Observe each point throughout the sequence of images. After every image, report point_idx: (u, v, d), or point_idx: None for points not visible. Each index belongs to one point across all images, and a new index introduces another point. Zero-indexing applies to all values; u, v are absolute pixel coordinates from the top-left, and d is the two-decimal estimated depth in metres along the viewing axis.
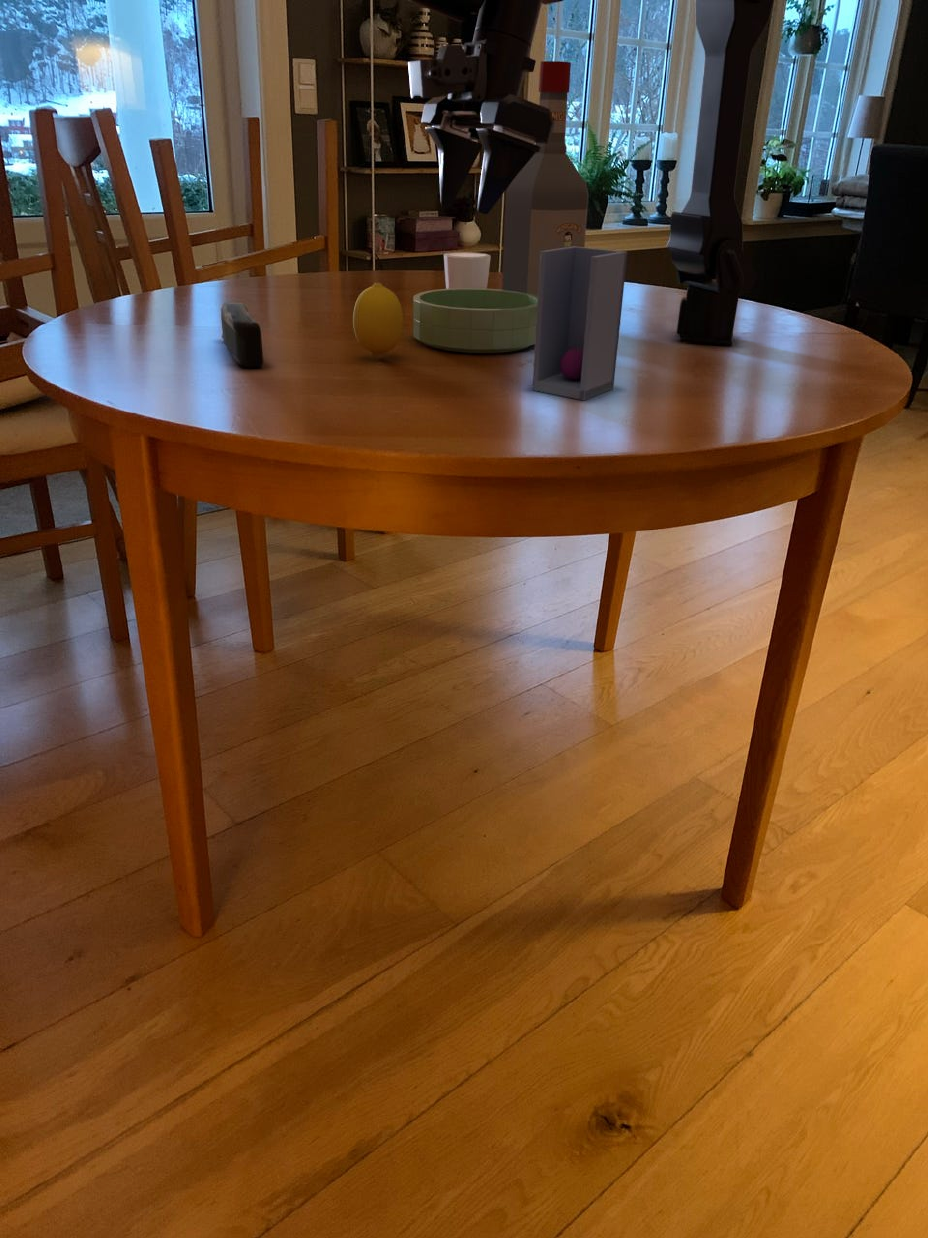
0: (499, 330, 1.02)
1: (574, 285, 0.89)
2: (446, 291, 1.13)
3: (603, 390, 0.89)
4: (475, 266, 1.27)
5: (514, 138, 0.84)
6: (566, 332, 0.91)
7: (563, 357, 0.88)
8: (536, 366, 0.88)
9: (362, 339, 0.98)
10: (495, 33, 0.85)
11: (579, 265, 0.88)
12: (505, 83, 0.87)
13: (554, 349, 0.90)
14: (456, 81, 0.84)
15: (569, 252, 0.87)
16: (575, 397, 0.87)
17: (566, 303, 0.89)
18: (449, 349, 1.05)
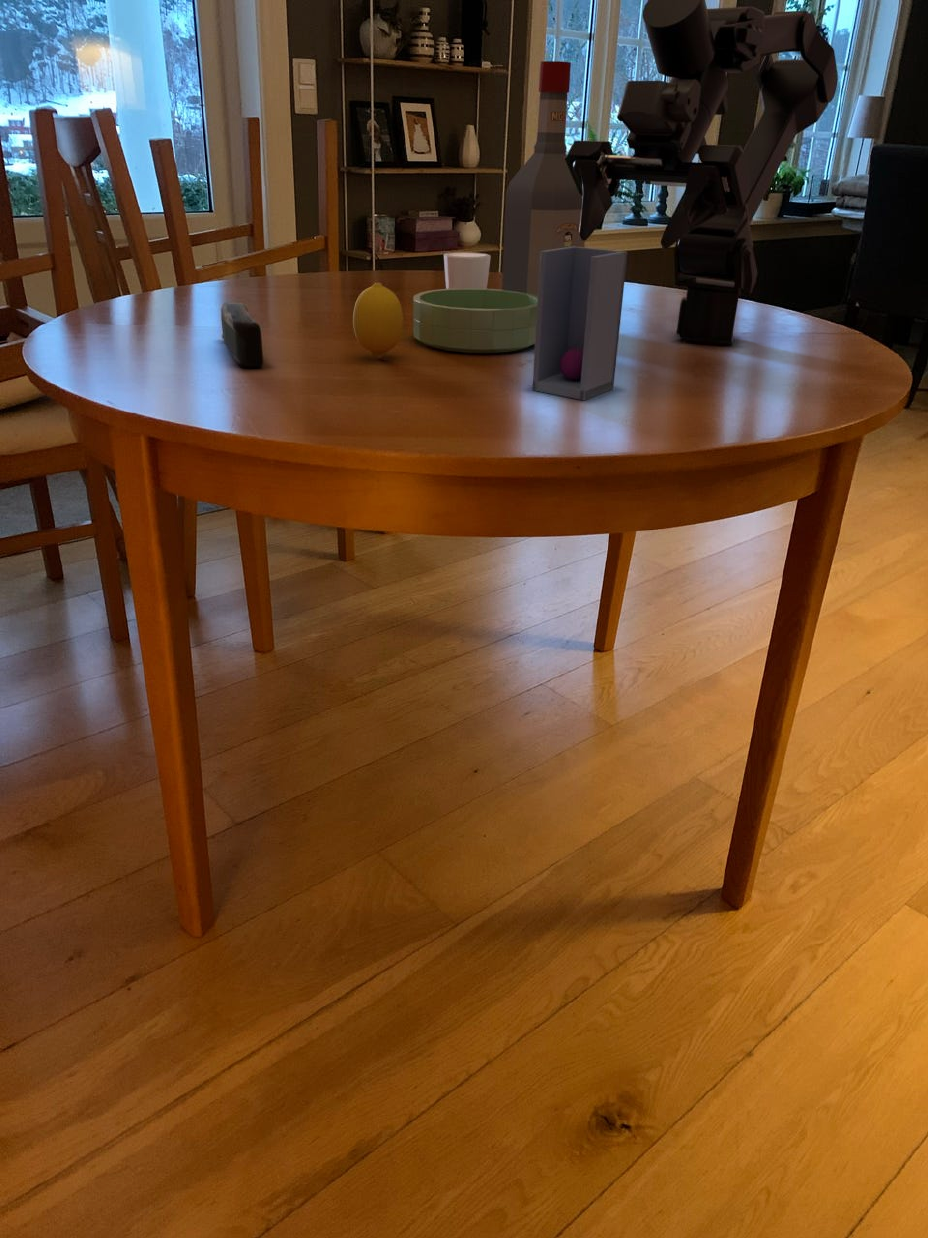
0: (499, 330, 1.02)
1: (574, 285, 0.89)
2: (446, 291, 1.13)
3: (603, 390, 0.89)
4: (475, 266, 1.27)
5: (723, 188, 0.87)
6: (566, 332, 0.91)
7: (563, 357, 0.88)
8: (536, 366, 0.88)
9: (362, 339, 0.98)
10: (698, 102, 0.89)
11: (579, 265, 0.88)
12: (694, 147, 0.90)
13: (554, 349, 0.90)
14: (689, 114, 0.84)
15: (569, 252, 0.87)
16: (575, 397, 0.87)
17: (566, 303, 0.89)
18: (449, 349, 1.05)
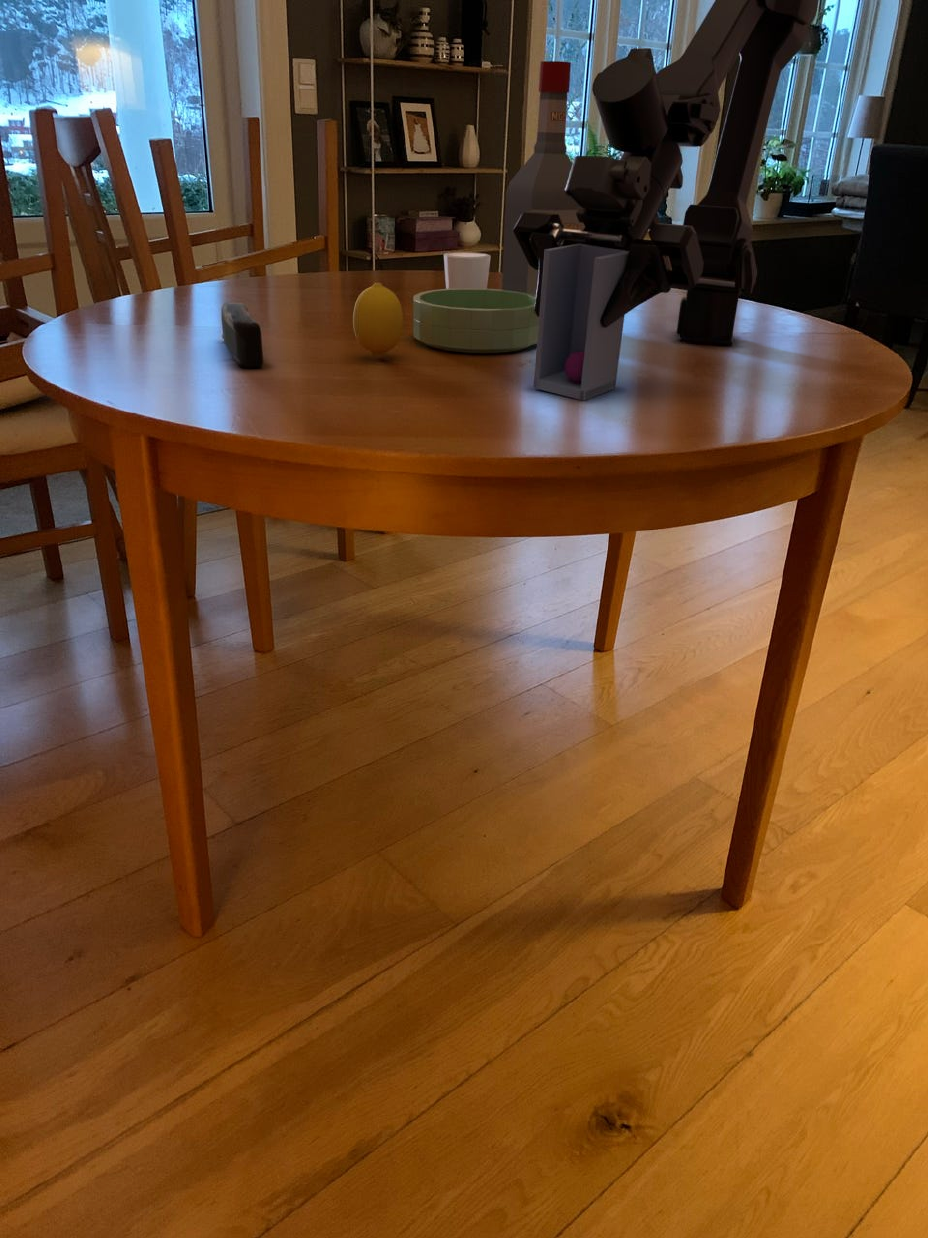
0: (499, 330, 1.02)
1: (579, 283, 0.88)
2: (446, 291, 1.13)
3: (604, 390, 0.89)
4: (475, 266, 1.27)
5: (665, 267, 0.83)
6: (570, 330, 0.90)
7: (568, 364, 0.87)
8: (538, 364, 0.88)
9: (362, 339, 0.98)
10: (650, 177, 0.86)
11: (584, 262, 0.87)
12: (646, 223, 0.86)
13: (557, 347, 0.90)
14: (639, 192, 0.81)
15: (574, 249, 0.86)
16: (575, 397, 0.87)
17: (570, 301, 0.89)
18: (449, 349, 1.05)
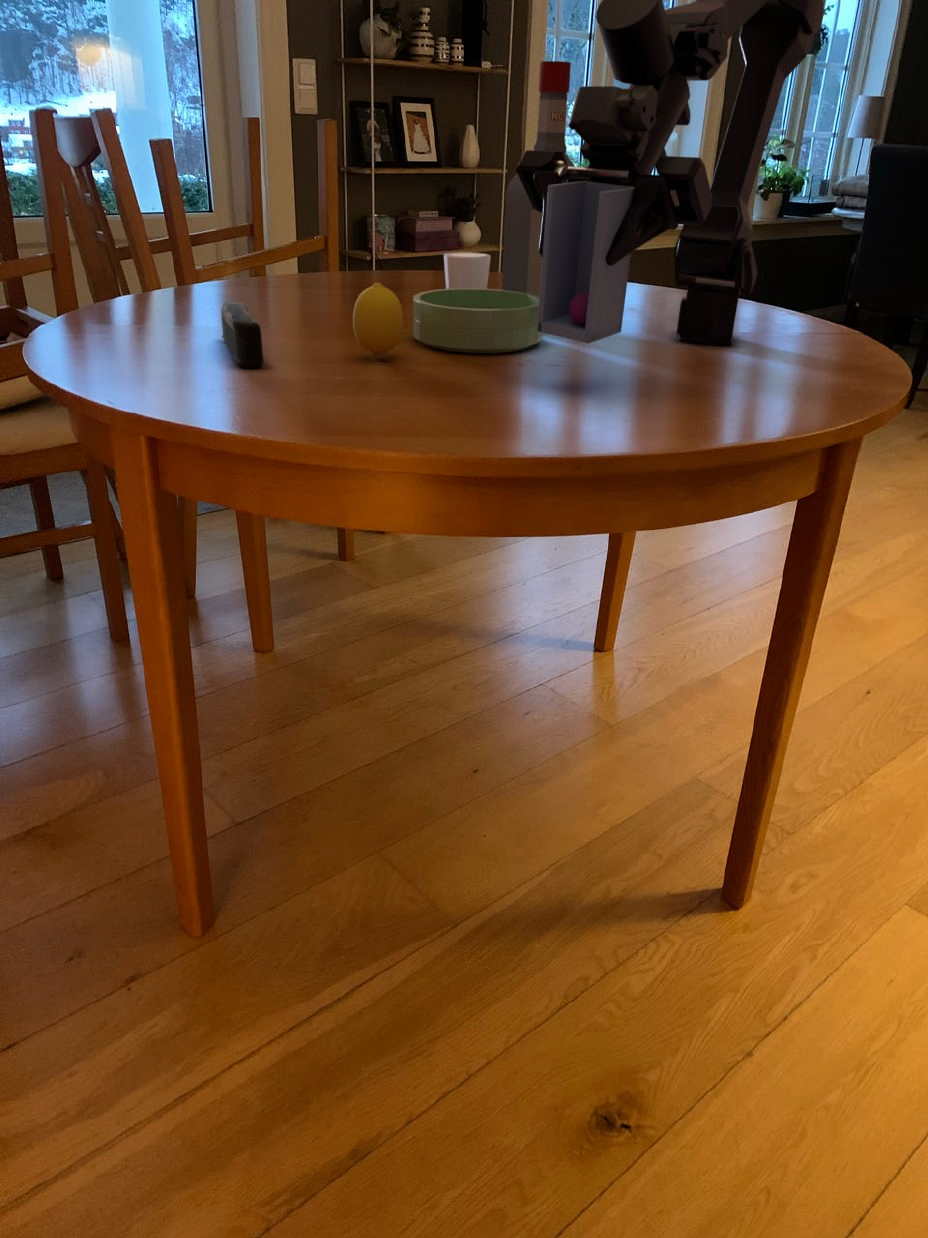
0: (499, 330, 1.02)
1: (584, 222, 0.86)
2: (446, 291, 1.13)
3: (610, 333, 0.87)
4: (475, 266, 1.27)
5: (672, 202, 0.81)
6: (574, 272, 0.88)
7: (572, 306, 0.85)
8: (541, 306, 0.86)
9: (362, 339, 0.98)
10: (657, 110, 0.83)
11: (589, 200, 0.85)
12: (652, 159, 0.84)
13: (561, 289, 0.87)
14: (645, 123, 0.78)
15: (579, 187, 0.84)
16: (580, 340, 0.85)
17: (575, 241, 0.86)
18: (449, 349, 1.05)
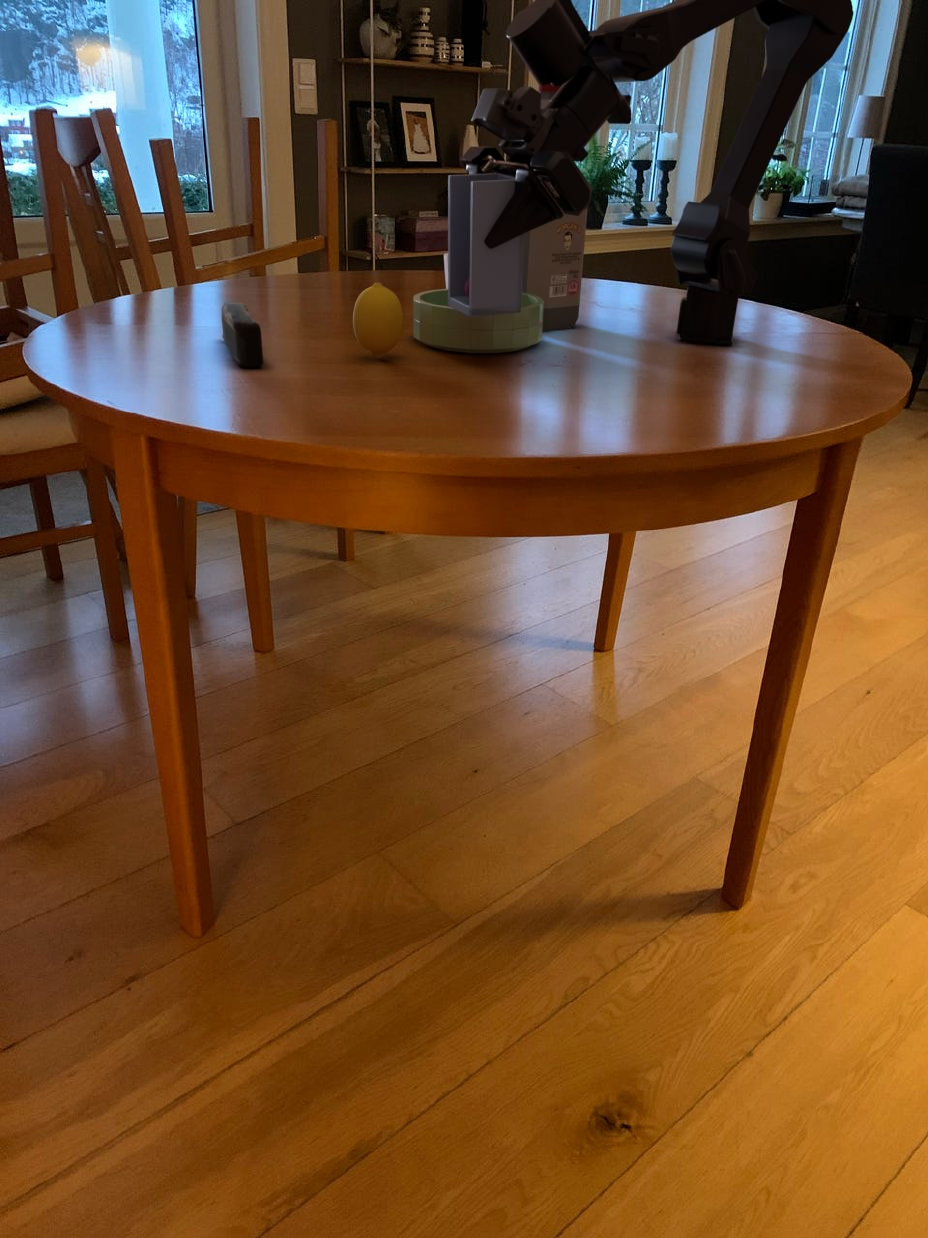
0: (499, 330, 1.02)
1: None
2: (446, 291, 1.13)
3: (503, 311, 0.96)
4: None
5: (547, 192, 0.88)
6: None
7: None
8: (449, 283, 0.98)
9: (362, 339, 0.98)
10: (567, 109, 0.90)
11: None
12: None
13: None
14: (523, 120, 0.87)
15: (488, 178, 0.94)
16: (467, 314, 0.95)
17: None
18: (449, 349, 1.05)
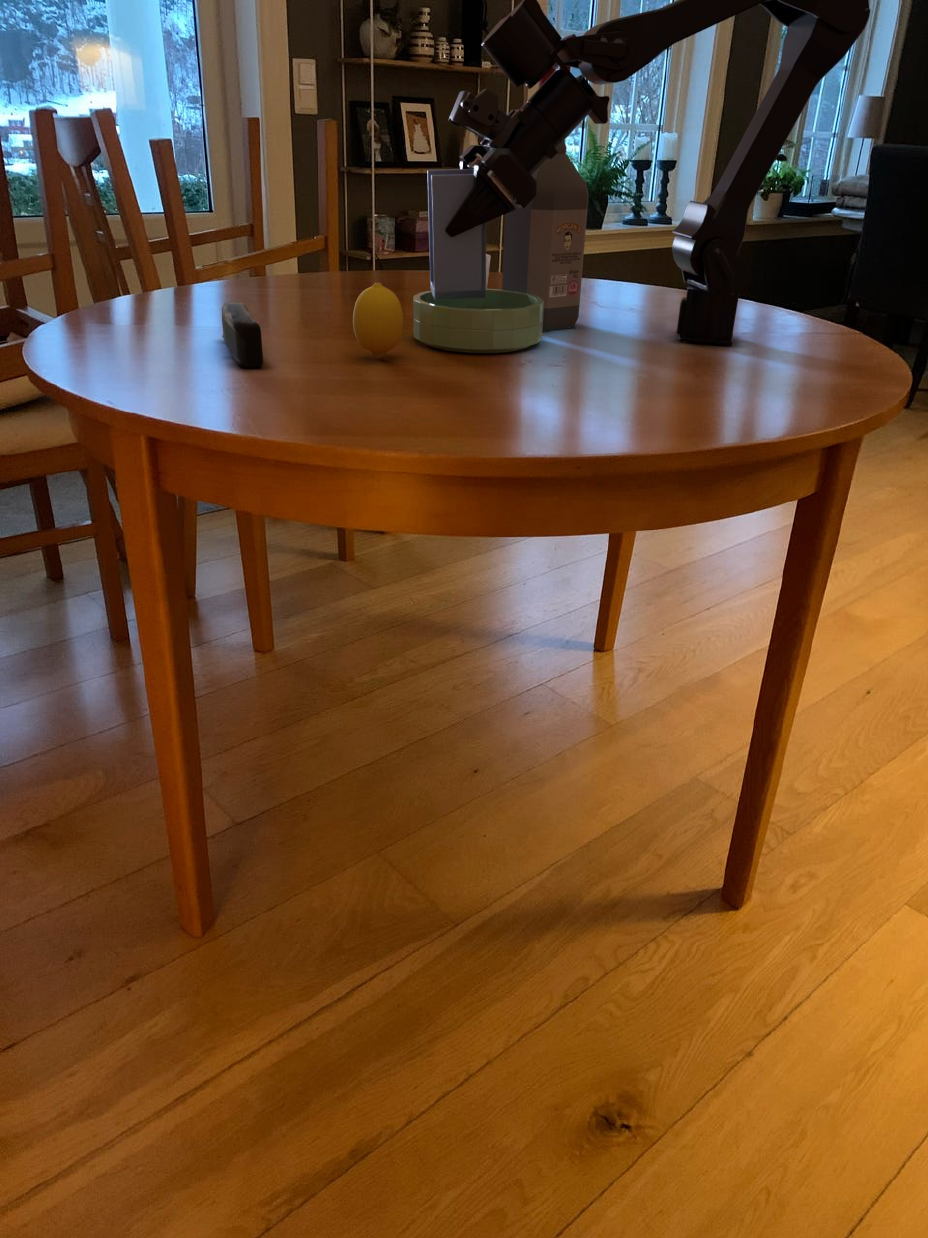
0: (499, 330, 1.02)
1: None
2: None
3: (467, 296, 1.04)
4: None
5: (496, 186, 0.95)
6: None
7: None
8: (430, 268, 1.07)
9: (362, 339, 0.98)
10: (534, 110, 0.97)
11: None
12: (522, 151, 0.98)
13: None
14: (479, 120, 0.95)
15: (466, 173, 1.02)
16: (434, 296, 1.05)
17: None
18: (449, 349, 1.05)
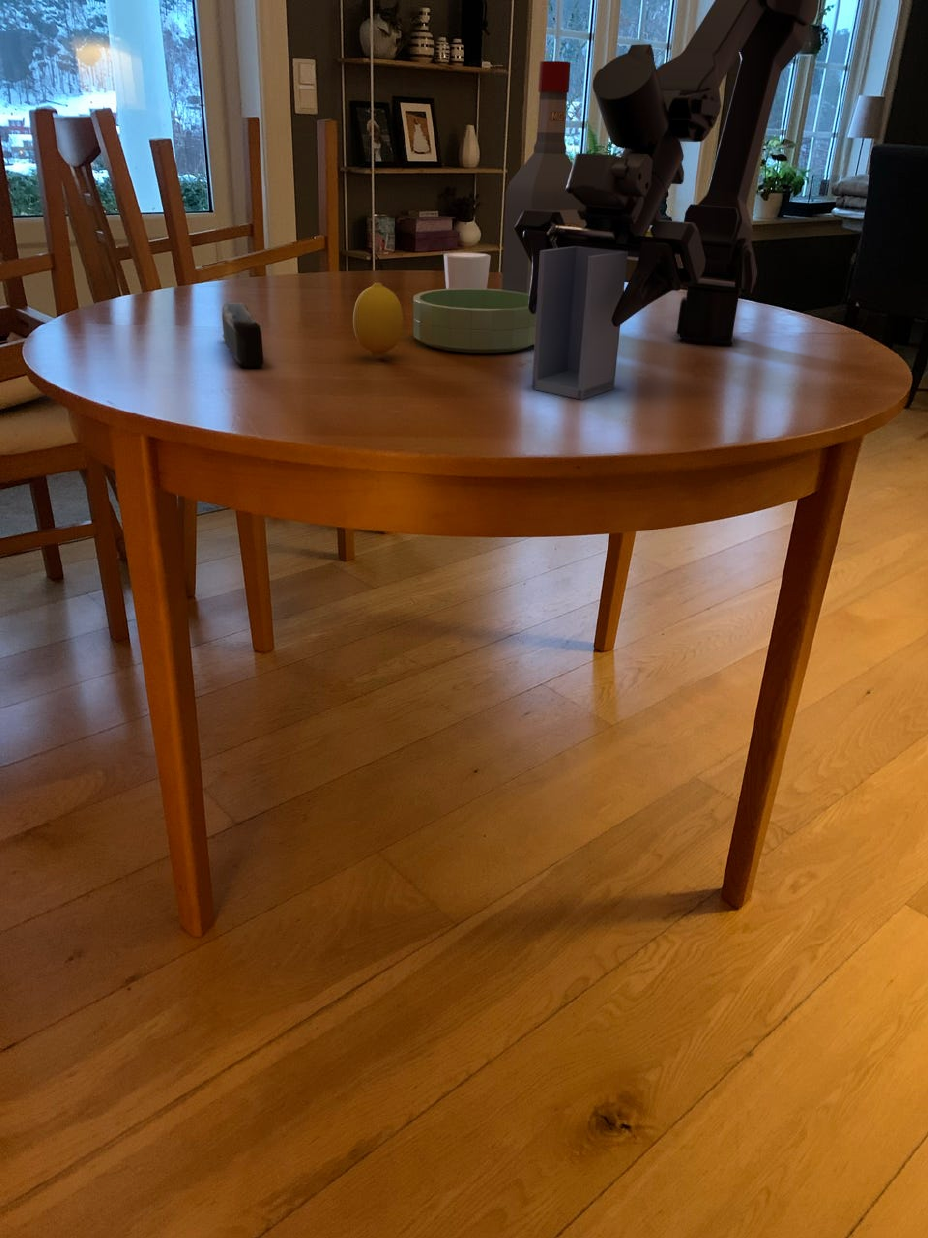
0: (499, 330, 1.02)
1: (576, 285, 0.89)
2: (446, 291, 1.13)
3: (602, 390, 0.89)
4: (475, 266, 1.27)
5: (677, 265, 0.83)
6: (567, 331, 0.91)
7: None
8: (535, 365, 0.89)
9: (362, 339, 0.98)
10: (651, 174, 0.86)
11: (580, 264, 0.88)
12: (647, 220, 0.86)
13: (555, 348, 0.90)
14: (640, 189, 0.81)
15: (570, 251, 0.87)
16: (573, 396, 0.87)
17: (567, 303, 0.89)
18: (449, 349, 1.05)
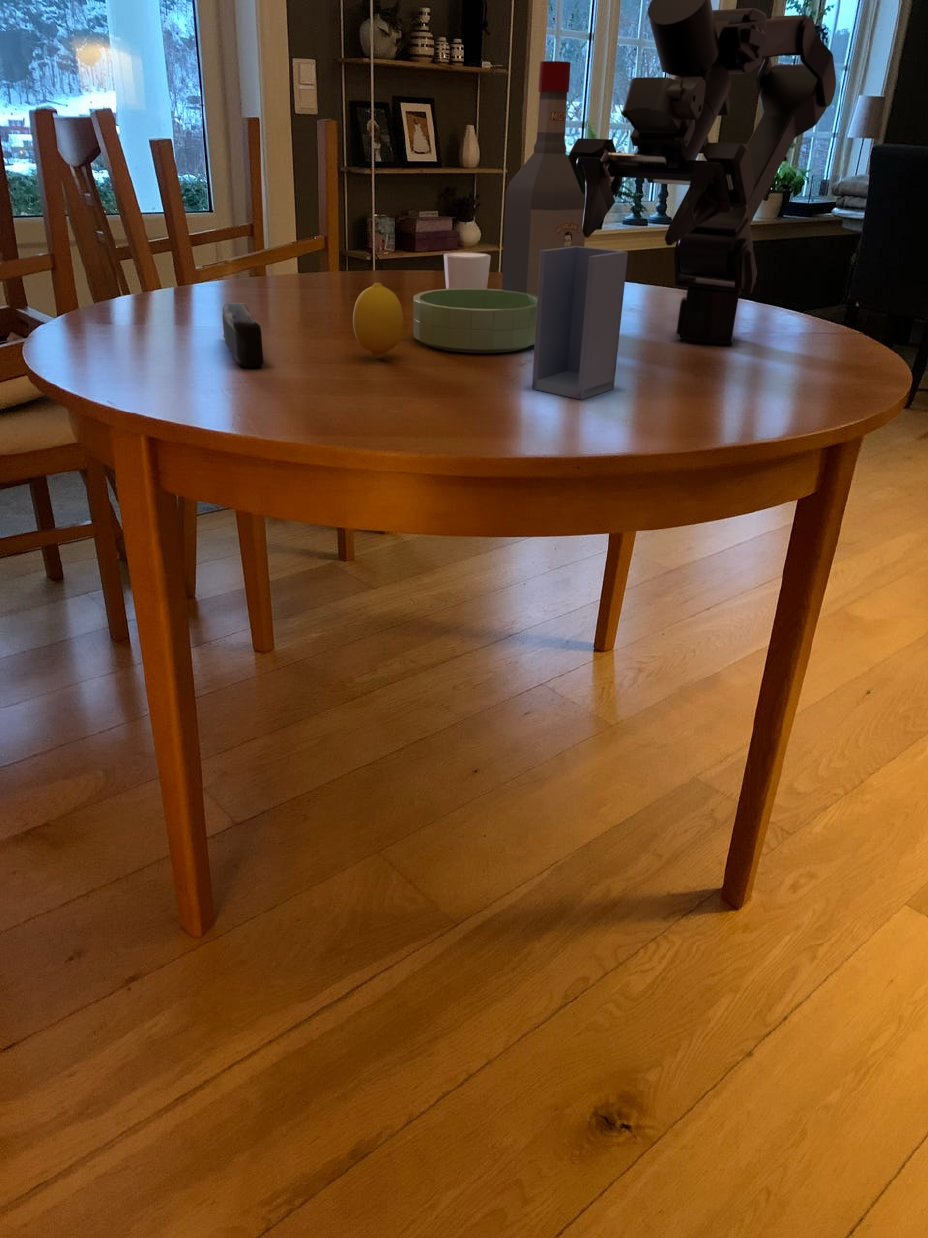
0: (499, 330, 1.02)
1: (576, 285, 0.89)
2: (446, 291, 1.13)
3: (602, 390, 0.89)
4: (475, 266, 1.27)
5: (727, 185, 0.86)
6: (568, 331, 0.91)
7: None
8: (536, 365, 0.89)
9: (362, 339, 0.98)
10: None
11: (580, 264, 0.88)
12: (697, 146, 0.90)
13: (555, 348, 0.90)
14: (694, 111, 0.84)
15: (570, 251, 0.87)
16: (573, 396, 0.87)
17: (568, 303, 0.89)
18: (449, 349, 1.05)
